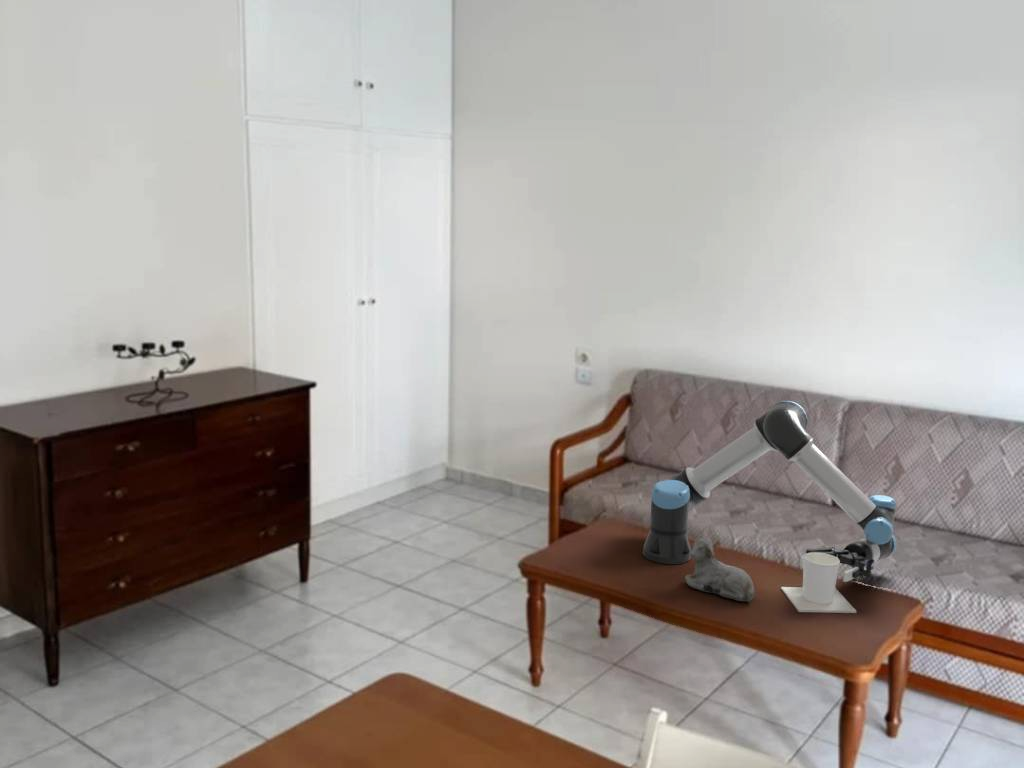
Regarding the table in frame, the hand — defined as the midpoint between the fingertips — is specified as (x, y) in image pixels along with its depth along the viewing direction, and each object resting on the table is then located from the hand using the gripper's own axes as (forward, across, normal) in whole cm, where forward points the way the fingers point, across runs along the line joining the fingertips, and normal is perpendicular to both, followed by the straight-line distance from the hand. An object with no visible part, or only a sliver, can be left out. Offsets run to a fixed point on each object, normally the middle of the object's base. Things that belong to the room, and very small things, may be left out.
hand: (822, 569), depth 265 cm
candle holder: (0, 0, -9) cm, 9 cm away
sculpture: (+19, +21, -10) cm, 30 cm away
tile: (0, 0, -9) cm, 9 cm away
